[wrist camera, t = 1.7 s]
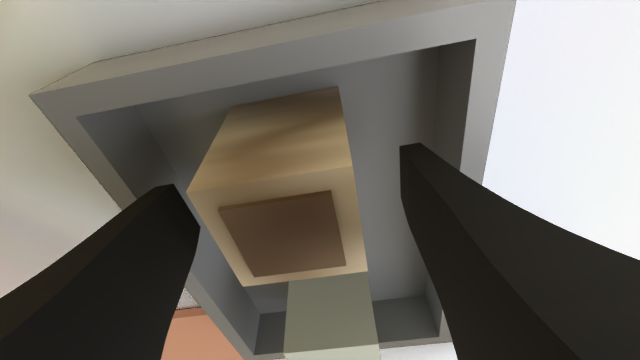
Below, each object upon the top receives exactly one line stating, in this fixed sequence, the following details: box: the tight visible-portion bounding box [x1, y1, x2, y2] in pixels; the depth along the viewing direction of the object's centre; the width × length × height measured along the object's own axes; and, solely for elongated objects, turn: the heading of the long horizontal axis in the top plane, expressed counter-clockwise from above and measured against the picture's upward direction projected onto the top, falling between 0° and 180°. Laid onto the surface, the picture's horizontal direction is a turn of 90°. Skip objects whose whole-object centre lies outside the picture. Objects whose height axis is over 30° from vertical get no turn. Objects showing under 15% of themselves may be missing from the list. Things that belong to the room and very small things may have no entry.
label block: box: [186, 86, 368, 287], centre depth 10 cm, size 4×4×5 cm
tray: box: [29, 0, 516, 360], centre depth 14 cm, size 13×18×3 cm
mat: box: [161, 307, 273, 360], centre depth 23 cm, size 10×10×1 cm
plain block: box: [283, 271, 381, 360], centre depth 15 cm, size 4×4×5 cm
